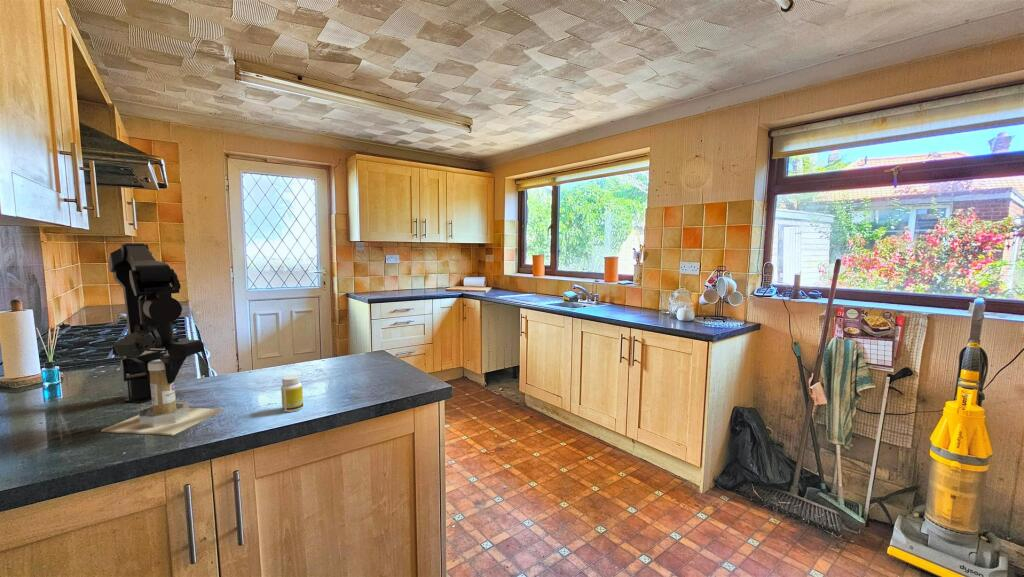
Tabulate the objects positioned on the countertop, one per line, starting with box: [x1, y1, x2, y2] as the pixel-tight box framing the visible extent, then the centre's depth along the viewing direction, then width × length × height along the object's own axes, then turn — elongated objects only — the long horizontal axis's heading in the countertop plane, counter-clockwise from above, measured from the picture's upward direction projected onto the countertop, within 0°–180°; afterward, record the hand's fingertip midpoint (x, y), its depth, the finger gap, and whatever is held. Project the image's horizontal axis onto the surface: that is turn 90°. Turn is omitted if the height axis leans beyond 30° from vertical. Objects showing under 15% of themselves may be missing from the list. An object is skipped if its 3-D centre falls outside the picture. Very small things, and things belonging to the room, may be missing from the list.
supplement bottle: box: [280, 374, 304, 413], centre depth 107 cm, size 5×5×8 cm
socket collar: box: [138, 401, 190, 427], centre depth 101 cm, size 9×9×2 cm
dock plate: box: [100, 407, 224, 436], centre depth 101 cm, size 18×14×1 cm
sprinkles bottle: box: [148, 359, 177, 415], centre depth 100 cm, size 5×5×14 cm
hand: (162, 382), depth 100 cm, fingers closed on sprinkles bottle, 4 cm apart
